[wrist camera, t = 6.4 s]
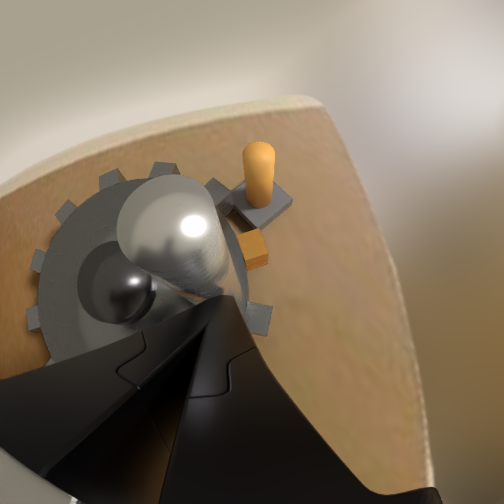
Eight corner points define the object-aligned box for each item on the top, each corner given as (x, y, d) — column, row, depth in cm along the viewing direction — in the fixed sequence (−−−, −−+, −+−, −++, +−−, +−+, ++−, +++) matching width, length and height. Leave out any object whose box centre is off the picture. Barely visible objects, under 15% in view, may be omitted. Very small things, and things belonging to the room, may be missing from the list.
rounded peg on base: (257, 233, 18) (256, 189, 13) (227, 202, 19) (216, 152, 14) (291, 204, 18) (301, 155, 13) (260, 176, 19) (260, 123, 14)
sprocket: (310, 383, 14) (405, 448, 4) (74, 433, 13) (-50, 467, 2) (225, 150, 18) (201, 7, 8) (39, 225, 17) (-53, 153, 7)
